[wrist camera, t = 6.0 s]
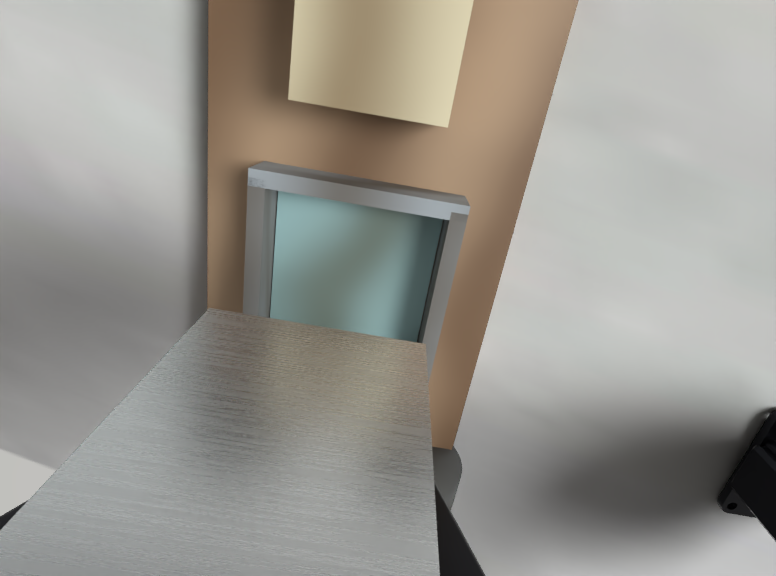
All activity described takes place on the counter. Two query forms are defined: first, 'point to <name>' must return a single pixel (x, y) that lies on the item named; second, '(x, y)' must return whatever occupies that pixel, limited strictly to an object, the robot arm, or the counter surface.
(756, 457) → the robot arm
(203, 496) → the grey rectangular block
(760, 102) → the counter surface
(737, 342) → the counter surface
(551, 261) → the counter surface
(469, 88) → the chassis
